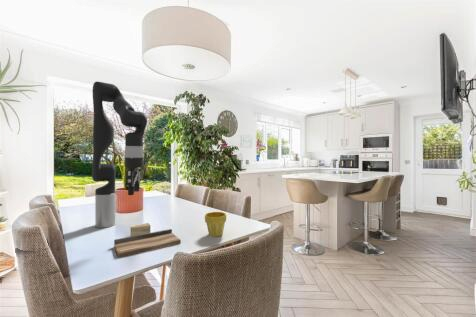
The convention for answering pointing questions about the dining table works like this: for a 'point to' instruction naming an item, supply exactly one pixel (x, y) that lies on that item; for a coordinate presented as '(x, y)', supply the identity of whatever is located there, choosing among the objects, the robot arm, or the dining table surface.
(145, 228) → the beige block
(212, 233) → the plant pot
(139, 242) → the walnut board
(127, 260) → the dining table surface
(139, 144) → the robot arm
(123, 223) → the dining table surface
